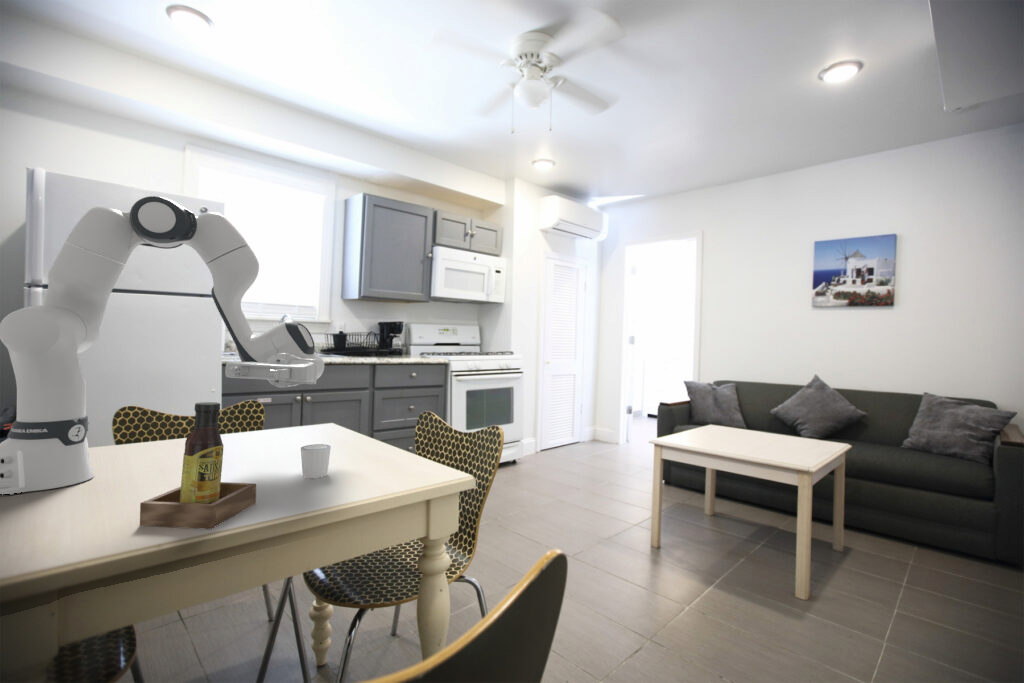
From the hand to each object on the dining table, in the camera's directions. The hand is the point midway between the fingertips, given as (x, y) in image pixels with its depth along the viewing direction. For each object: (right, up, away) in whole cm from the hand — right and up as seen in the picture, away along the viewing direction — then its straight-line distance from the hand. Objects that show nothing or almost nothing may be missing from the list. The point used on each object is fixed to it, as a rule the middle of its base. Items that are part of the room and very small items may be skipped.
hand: (252, 373), depth 107 cm
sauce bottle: (+1, -24, -19) cm, 31 cm away
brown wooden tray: (+1, -25, -19) cm, 31 cm away
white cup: (+11, -26, +8) cm, 29 cm away
